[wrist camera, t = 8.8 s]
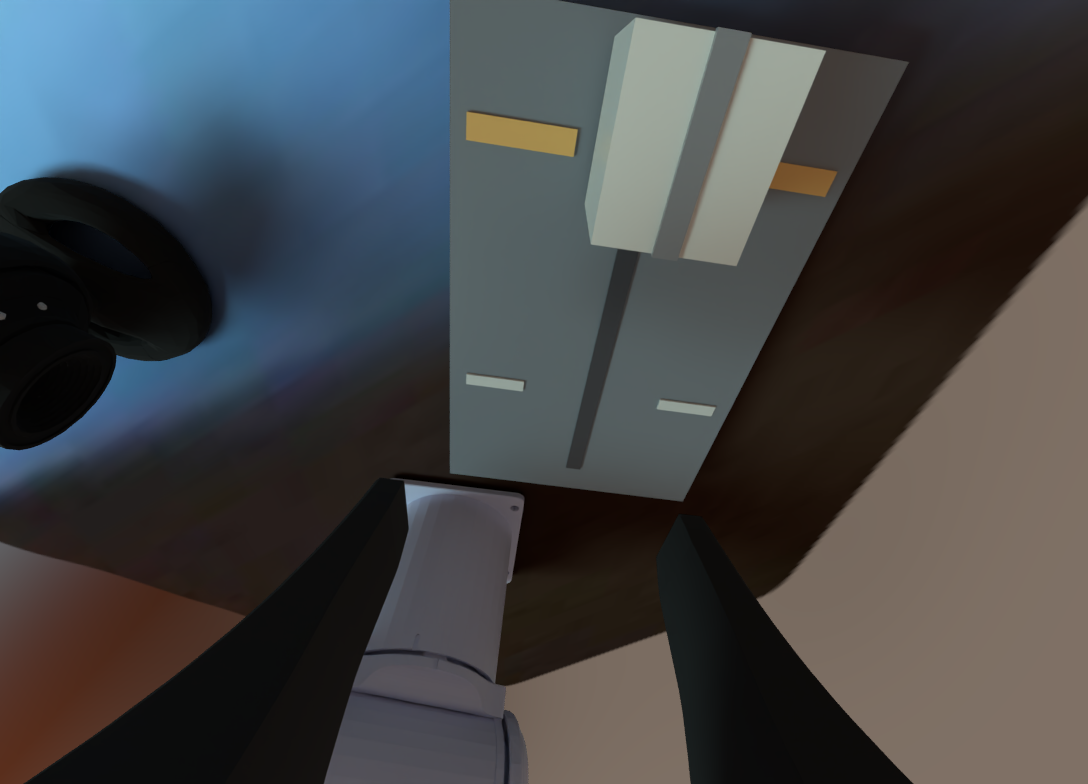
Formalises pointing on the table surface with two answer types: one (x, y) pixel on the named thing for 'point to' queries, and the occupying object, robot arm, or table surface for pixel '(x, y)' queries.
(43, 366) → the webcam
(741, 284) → the console
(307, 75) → the table surface
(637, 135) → the fader
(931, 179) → the table surface
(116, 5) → the table surface
